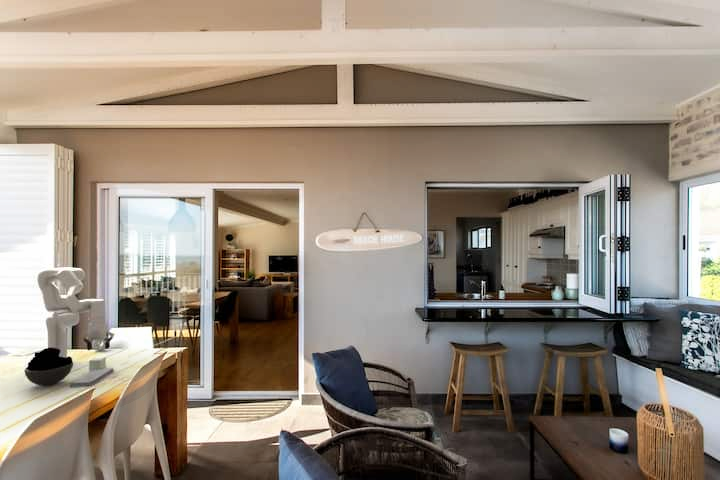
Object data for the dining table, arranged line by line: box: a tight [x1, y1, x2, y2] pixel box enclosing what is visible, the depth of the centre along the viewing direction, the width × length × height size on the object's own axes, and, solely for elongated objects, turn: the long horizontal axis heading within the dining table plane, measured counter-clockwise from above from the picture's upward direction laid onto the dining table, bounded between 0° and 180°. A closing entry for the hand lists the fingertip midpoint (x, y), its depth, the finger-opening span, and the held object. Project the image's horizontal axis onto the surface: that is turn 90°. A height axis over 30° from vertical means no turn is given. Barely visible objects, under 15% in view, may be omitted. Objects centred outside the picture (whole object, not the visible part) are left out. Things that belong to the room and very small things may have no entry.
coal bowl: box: [24, 347, 74, 387], centre depth 204 cm, size 20×20×19 cm
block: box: [88, 356, 107, 372], centre depth 230 cm, size 6×6×6 cm
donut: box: [91, 339, 106, 352], centre depth 271 cm, size 10×4×10 cm, turn 117°
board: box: [69, 367, 114, 388], centre depth 212 cm, size 10×24×2 cm, turn 8°
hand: (98, 349), depth 230 cm, fingers open, 9 cm apart
